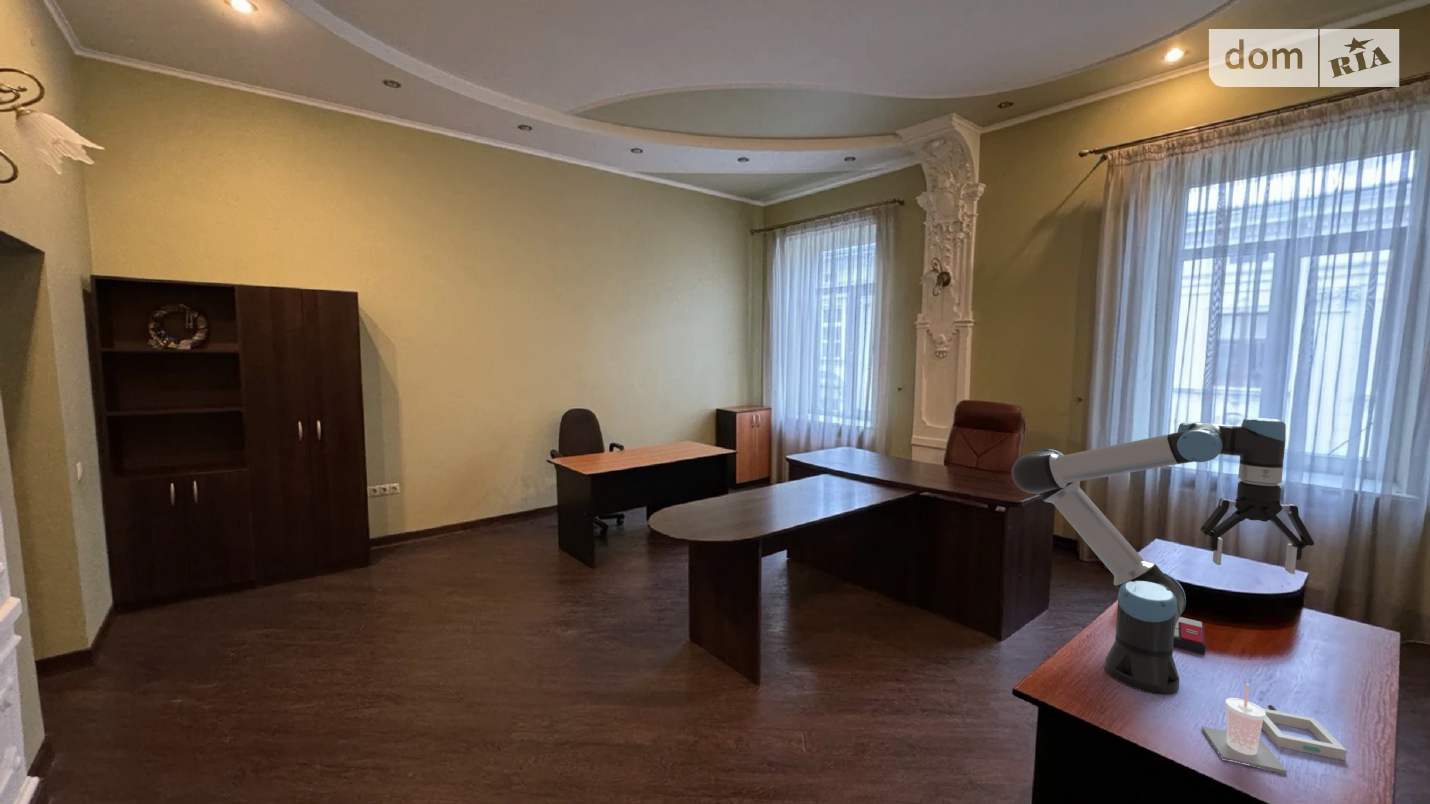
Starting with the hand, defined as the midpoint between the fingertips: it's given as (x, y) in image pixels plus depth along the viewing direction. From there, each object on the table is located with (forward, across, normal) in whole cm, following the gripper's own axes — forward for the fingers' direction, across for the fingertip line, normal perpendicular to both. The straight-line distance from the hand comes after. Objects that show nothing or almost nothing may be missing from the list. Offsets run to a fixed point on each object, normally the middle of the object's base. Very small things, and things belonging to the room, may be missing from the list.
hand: (1252, 567), depth 136 cm
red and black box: (+31, -7, +23) cm, 39 cm away
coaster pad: (+31, -10, -29) cm, 43 cm away
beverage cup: (+30, -10, -29) cm, 43 cm away
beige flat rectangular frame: (+31, +3, -16) cm, 35 cm away
